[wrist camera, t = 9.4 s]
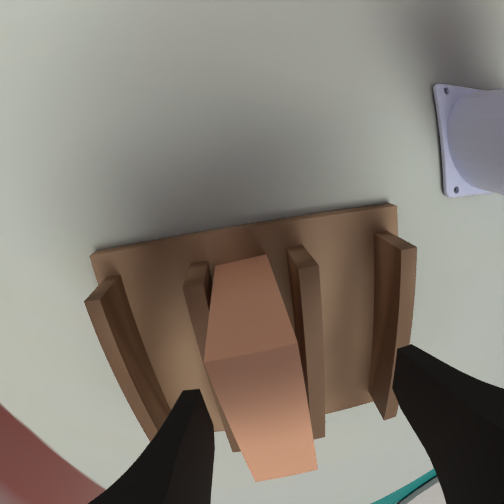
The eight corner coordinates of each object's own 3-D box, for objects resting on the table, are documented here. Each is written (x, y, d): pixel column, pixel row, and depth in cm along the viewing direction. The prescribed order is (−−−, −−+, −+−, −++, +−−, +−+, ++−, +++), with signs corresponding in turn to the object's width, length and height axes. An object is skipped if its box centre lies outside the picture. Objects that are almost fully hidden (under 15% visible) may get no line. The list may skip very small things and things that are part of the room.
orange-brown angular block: (266, 254, 18) (297, 342, 9) (288, 362, 20) (317, 469, 12) (215, 265, 18) (203, 362, 9) (245, 372, 20) (255, 481, 12)
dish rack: (389, 203, 18) (428, 217, 14) (381, 390, 23) (401, 425, 19) (95, 251, 18) (63, 276, 14) (163, 426, 23) (156, 465, 19)
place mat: (537, 371, 28) (545, 378, 26) (524, 438, 37) (529, 444, 35) (293, 526, 34) (295, 537, 32) (356, 544, 42) (358, 551, 40)
